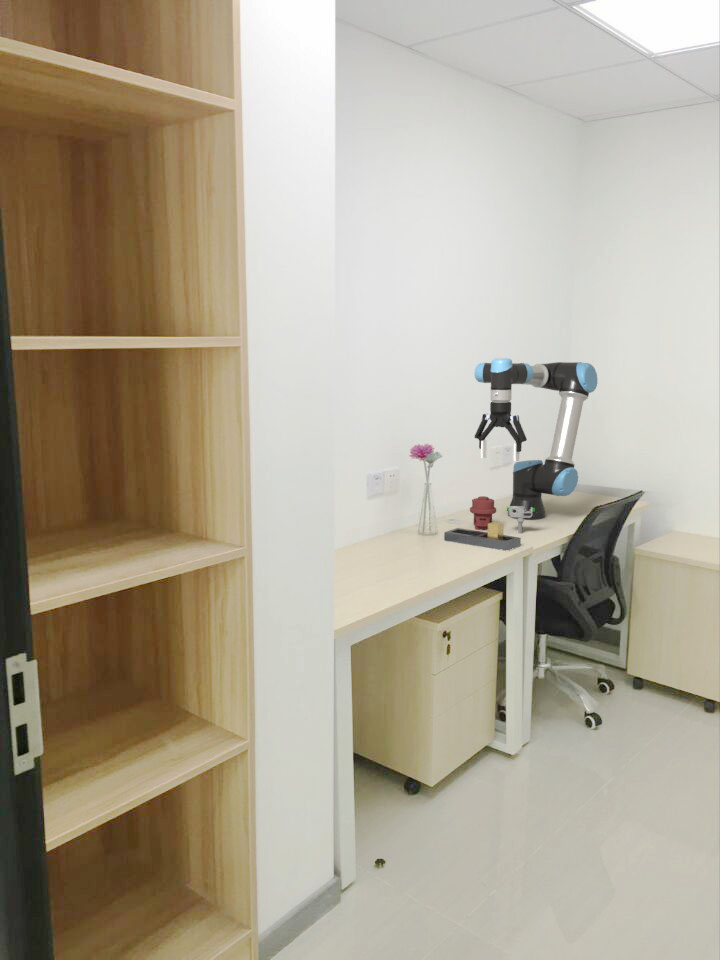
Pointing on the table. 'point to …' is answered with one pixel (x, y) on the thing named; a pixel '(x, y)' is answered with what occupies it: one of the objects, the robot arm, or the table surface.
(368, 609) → the table surface
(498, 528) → the brushed brass bar
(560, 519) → the table surface
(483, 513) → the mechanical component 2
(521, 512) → the mechanical component
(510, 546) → the rack frame
